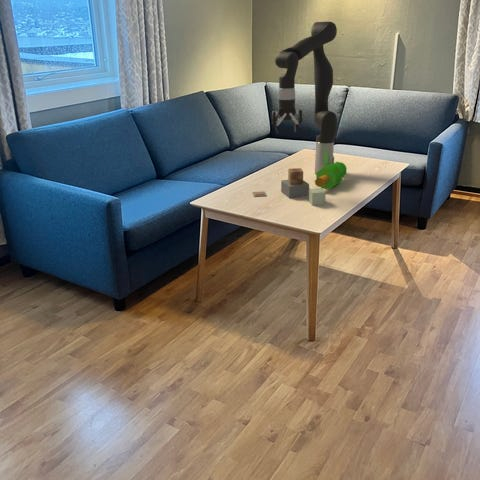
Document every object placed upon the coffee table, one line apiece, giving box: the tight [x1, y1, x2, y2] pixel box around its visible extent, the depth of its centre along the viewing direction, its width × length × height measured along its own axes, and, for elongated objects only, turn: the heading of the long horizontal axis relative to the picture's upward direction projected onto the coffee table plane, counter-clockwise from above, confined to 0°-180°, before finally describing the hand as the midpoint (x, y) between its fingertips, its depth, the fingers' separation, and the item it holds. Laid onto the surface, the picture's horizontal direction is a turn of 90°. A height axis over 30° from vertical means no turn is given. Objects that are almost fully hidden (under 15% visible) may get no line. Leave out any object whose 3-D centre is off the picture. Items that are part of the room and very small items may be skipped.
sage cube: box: [308, 187, 327, 206], centre depth 240 cm, size 6×6×6 cm
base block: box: [280, 179, 310, 199], centre depth 252 cm, size 10×10×6 cm
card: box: [252, 190, 268, 198], centre depth 253 cm, size 6×6×1 cm
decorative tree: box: [314, 161, 348, 190], centre depth 263 cm, size 11×12×30 cm
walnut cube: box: [287, 167, 304, 185], centre depth 249 cm, size 6×6×6 cm
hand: (286, 132), depth 250 cm, fingers open, 8 cm apart
